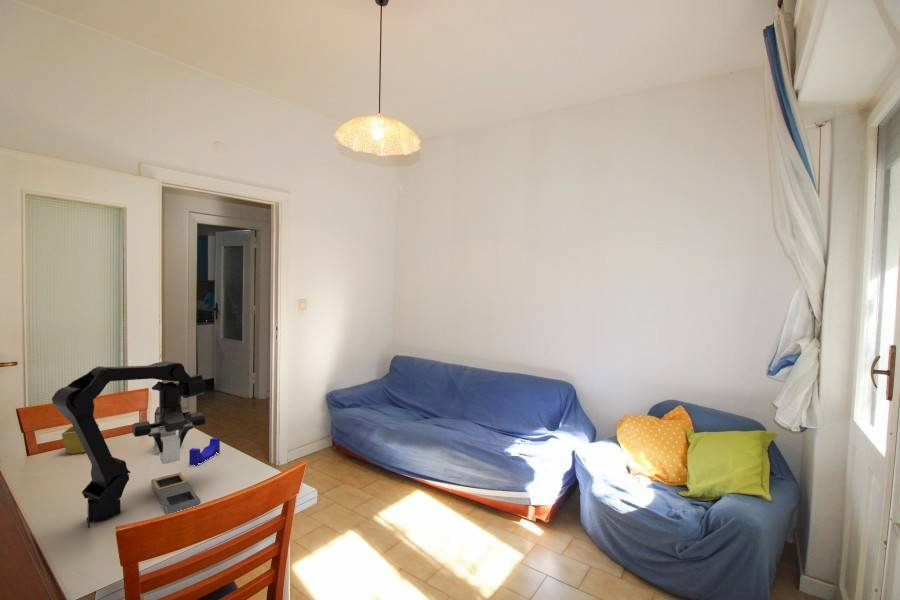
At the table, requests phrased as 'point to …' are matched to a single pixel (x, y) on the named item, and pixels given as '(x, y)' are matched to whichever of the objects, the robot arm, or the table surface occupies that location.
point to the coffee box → (162, 431)
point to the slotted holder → (174, 493)
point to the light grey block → (170, 449)
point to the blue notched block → (204, 452)
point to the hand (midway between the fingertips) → (170, 450)
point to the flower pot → (72, 441)
